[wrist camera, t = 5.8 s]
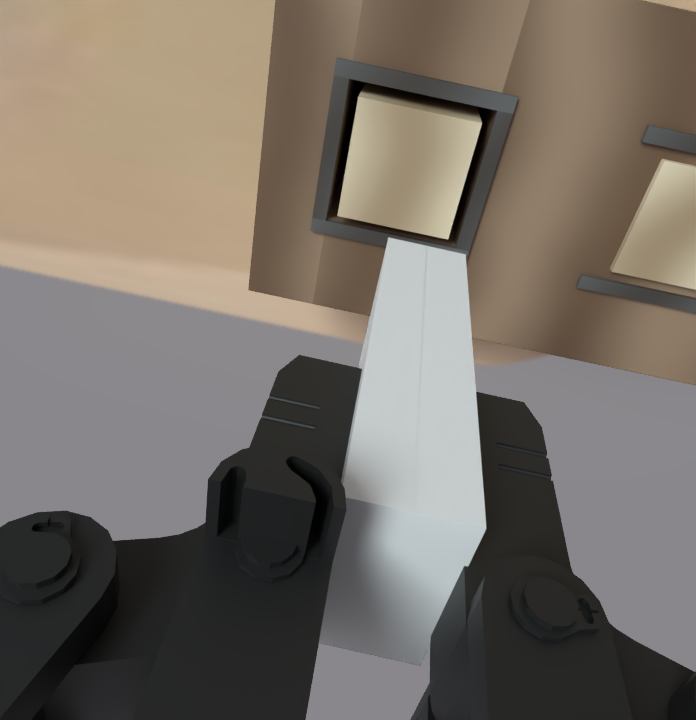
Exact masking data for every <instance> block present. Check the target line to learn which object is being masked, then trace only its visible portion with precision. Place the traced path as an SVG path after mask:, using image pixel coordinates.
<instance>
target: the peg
mask: <svg viewBox="0 0 696 720" xmlns="http://www.w3.org/2000/svg"><path fill="white" fill-rule="evenodd" d="M481 125H482V121H481V118H480V115H479V112H478V108H477V106H473V105H469V104H464V103H459V102H455V101H450V100H445V99H441V98H436V97H432V96H427V95H422V94H418V93H413V92H408V91H404V90H399V89H394V88H390V87H385V86H381V85H376V84H371V83H367V82H365V84H364V86H363V88H362V90H361V92H360V94H359V96H358V101H357V107H356V113H355V118H354V124H353V130H352V135H351V141H350V147H349V152H348V158H347V164H346V169H345V175H344V181H343V187H342V192H341V198H340V204H339V209H338V215H337V216H340V217H345V218H349V219H354V220H359V221H363V222H368V223H373V224H377V225H382V226H387V227H391V228H396V229H401V230H405V231H410V232H415V233H419V234H424V235H429V236H433V237H438V238H443V239H447V240H448V238H449V235H450V231H451V228H452V224H453V221H454V217H455V214H456V211H457V207H458V204H459V200H460V197H461V194H462V190H463V187H464V183H465V180H466V177H467V173H468V170H469V166H470V163H471V160H472V156H473V153H474V149H475V146H476V143H477V139H478V136H479V132H480V129H481Z"/></svg>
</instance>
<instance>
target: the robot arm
mask: <svg viewBox="0 0 696 720" xmlns="http://www.w3.org/2000/svg"><path fill="white" fill-rule="evenodd" d="M546 455H547V450H546V446H545V441H544V436H543V431H542V427H541V426H540V424H539V423H538V421H537V420H536V419H535V417H534V416H533V414H532V413H531V412H530V410H529V409H528V407H527V406H526V405H525V403H524V402H520V401H516V400H511V399H507V398H502V397H497V396H492V395H488V394H484V393H479V392H476V385H475V373H474V358H473V345H472V332H471V319H470V306H469V293H468V280H467V267H466V254H462V253H457V252H453V251H448V250H444V249H439V248H434V247H430V246H425V245H421V244H416V243H412V242H407V241H403V240H398V239H394V238H389V237H388V241H387V245H386V250H385V254H384V258H383V263H382V267H381V271H380V275H379V280H378V284H377V288H376V293H375V297H374V301H373V306H372V310H371V314H370V319H369V323H368V327H367V331H366V336H365V340H364V344H363V349H362V353H361V358H360V363H359V368H356V367H351V366H347V365H342V364H338V363H333V362H328V361H324V360H320V359H315V358H310V357H306V356H301V355H299V356H297V357H296V358H295V359H294V360H293V361H291V362H290V363H289V364H288V365H286V366H285V367H284V368H282V369H281V370H280V371H279V372H278V374H277V377H276V380H275V382H274V385H273V388H272V390H271V393H270V396H269V399H268V400H267V403H266V406H265V408H264V411H263V414H262V418H261V419H260V421H259V424H258V426H257V429H256V432H255V434H254V437H253V440H252V442H251V445H250V447H249V448H247V449H242V450H240V451H239V452H237V453H235V454H233V455H232V456H230V457H228V458H227V459H225V460H223V461H221V463H220V464H219V466H218V467H217V468H216V470H215V471H214V472H213V474H212V475H211V476H210V478H209V479H208V491H207V509H206V523H204V524H203V525H201V526H199V527H198V528H195V529H193V530H190V531H187V532H185V533H182V534H179V535H173V536H168V537H161V538H150V539H135V540H120V541H112V538H111V536H110V534H109V532H108V530H106V529H105V528H104V527H103V526H101V525H100V524H99V523H97V522H96V521H94V520H93V519H92V518H91V517H88V516H84V515H80V514H76V513H72V512H69V511H53V512H37V513H34V514H31V515H28V516H25V517H22V518H19V519H16V520H13V521H10V522H8V523H6V524H5V525H3V526H2V527H0V720H305V719H306V713H307V707H308V701H309V696H310V689H311V684H312V678H313V673H314V667H315V661H316V656H317V650H318V644H319V643H320V644H324V645H329V646H333V647H338V648H342V649H347V650H351V651H356V652H360V653H365V654H369V655H374V656H378V657H383V658H387V659H392V660H396V661H401V662H405V663H410V664H414V665H419V666H420V665H421V664H422V662H423V659H424V657H425V655H426V653H427V651H428V649H429V647H430V683H429V685H428V687H427V689H426V691H425V693H424V695H423V697H422V699H421V700H420V703H419V704H418V706H417V708H416V710H415V712H414V714H413V716H412V718H411V720H696V672H693V671H692V670H690V669H688V668H686V667H684V666H682V665H680V664H678V663H676V662H674V661H672V660H670V659H669V658H667V657H665V656H663V655H661V654H659V653H657V652H655V651H653V650H651V649H650V648H648V647H646V646H644V645H642V644H640V643H638V642H636V641H634V640H633V639H631V638H630V637H628V636H626V635H625V634H623V633H622V632H620V631H618V630H617V629H616V628H614V627H613V626H612V625H611V624H610V623H609V622H608V620H607V617H606V615H605V613H604V610H603V608H602V606H601V603H600V601H599V600H598V599H597V598H596V596H595V595H594V594H593V593H592V591H591V590H590V589H589V588H588V587H587V585H586V584H585V583H584V582H583V581H582V580H581V579H580V578H578V577H577V576H575V575H574V574H573V572H572V569H571V566H570V561H569V557H568V552H567V547H566V543H565V537H564V532H563V528H562V523H561V518H560V513H559V508H558V504H557V498H556V494H555V489H554V484H553V481H551V476H552V475H551V470H550V465H549V460H548V458H546Z"/></svg>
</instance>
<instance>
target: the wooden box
mask: <svg viewBox="0 0 696 720" xmlns="http://www.w3.org/2000/svg"><path fill="white" fill-rule="evenodd" d="M365 82H367V83H371V84H376V85H381V86H385V87H390V88H394V89H399V90H404V91H408V92H413V93H418V94H422V95H427V96H432V97H436V98H441V99H445V100H450V101H455V102H459V103H464V104H469V105H473V106H477V108H478V112H479V115H480V118H481V121H482V125H481V129H480V132H479V136H478V139H477V143H476V146H475V149H474V153H473V156H472V160H471V163H470V166H469V170H468V173H467V177H466V180H465V183H464V187H463V190H462V194H461V197H460V200H459V204H458V207H457V211H456V214H455V217H454V221H453V224H452V228H451V231H450V235H449V238H448V240H447V239H443V238H438V237H433V236H429V235H424V234H419V233H415V232H410V231H405V230H401V229H396V228H391V227H387V226H382V225H377V224H373V223H368V222H363V221H359V220H354V219H349V218H345V217H340V216H337V215H338V209H339V204H340V198H341V192H342V187H343V181H344V175H345V169H346V164H347V158H348V152H349V147H350V141H351V135H352V130H353V124H354V118H355V113H356V107H357V101H358V96H359V94H360V92H361V90H362V88H363V86H364V84H365ZM388 237H389V238H394V239H398V240H403V241H407V242H412V243H416V244H421V245H425V246H430V247H434V248H439V249H444V250H448V251H453V252H457V253H462V254H466V267H467V280H468V293H469V306H470V319H471V332H472V338H476V339H481V340H485V341H490V342H495V343H500V344H504V345H509V346H514V347H518V348H523V349H528V350H532V351H537V352H542V353H547V354H551V355H556V356H561V357H566V358H570V359H575V360H580V361H585V362H589V363H594V364H598V365H603V366H608V367H612V368H617V369H622V370H626V371H631V372H636V373H641V374H645V375H650V376H655V377H660V378H665V379H669V380H674V381H678V382H683V383H688V384H692V385H696V12H693V11H688V10H684V9H679V8H674V7H670V6H665V5H661V4H656V3H651V2H647V1H642V0H276V2H275V12H274V23H273V34H272V44H271V55H270V66H269V76H268V87H267V98H266V108H265V119H264V130H263V140H262V151H261V162H260V172H259V183H258V194H257V204H256V215H255V226H254V236H253V247H252V258H251V268H250V279H249V290H250V291H255V292H260V293H264V294H269V295H274V296H279V297H283V298H288V299H293V300H297V301H302V302H307V303H311V304H316V305H321V306H326V307H330V308H335V309H340V310H344V311H349V312H354V313H358V314H363V315H368V316H370V314H371V310H372V306H373V301H374V297H375V293H376V288H377V284H378V280H379V275H380V271H381V267H382V263H383V258H384V254H385V250H386V245H387V241H388Z"/></svg>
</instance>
